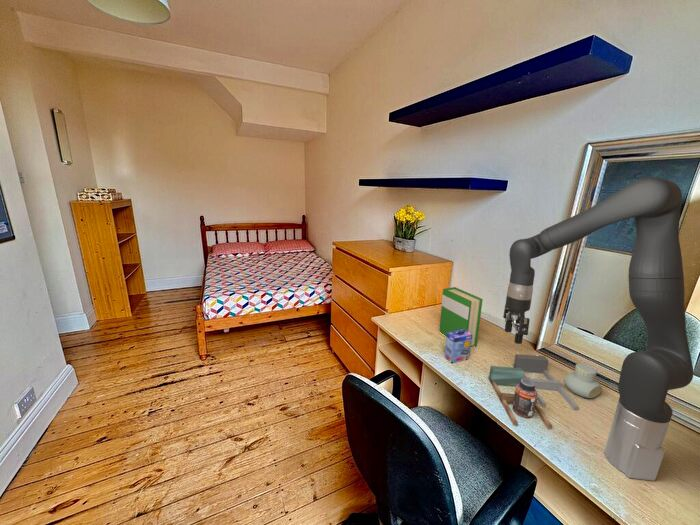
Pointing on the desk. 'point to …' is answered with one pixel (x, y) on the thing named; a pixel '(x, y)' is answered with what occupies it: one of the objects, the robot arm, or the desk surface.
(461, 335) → the ink cartridge box
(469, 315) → the hardback book
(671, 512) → the desk surface
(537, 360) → the charcoal frame
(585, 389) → the air freshener
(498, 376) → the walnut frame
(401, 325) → the desk surface
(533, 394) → the supplement bottle
